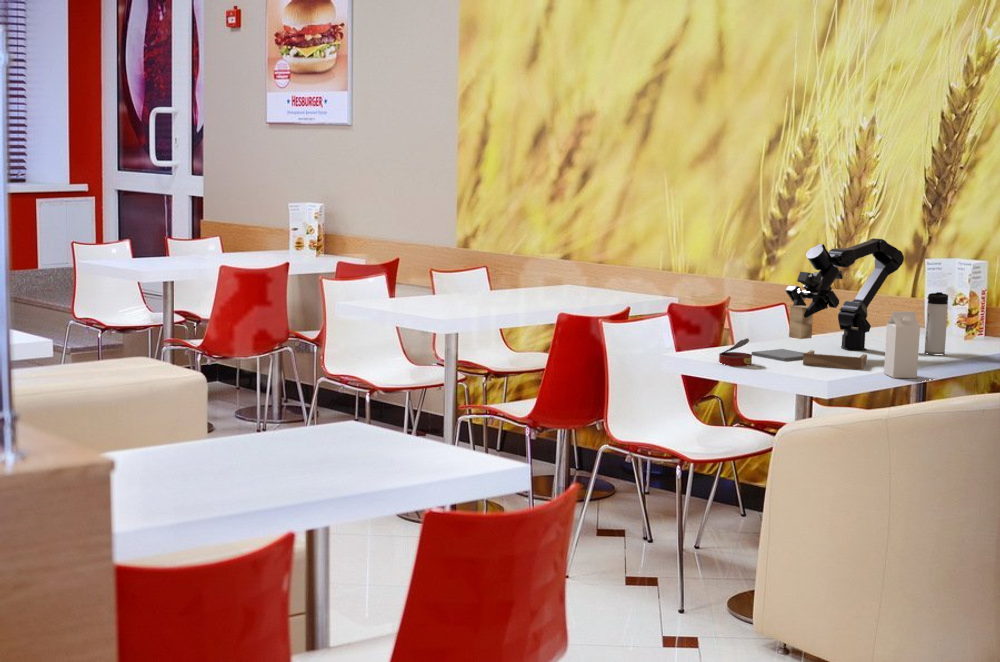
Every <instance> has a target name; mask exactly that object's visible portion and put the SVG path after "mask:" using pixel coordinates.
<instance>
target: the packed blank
mask: <svg viewBox="0 0 1000 662" xmlns="http://www.w3.org/2000/svg"><path fill="white" fill-rule="evenodd" d="M809 306H810V305H809ZM809 306H808V305H806V306H802V305H799V306H793V305H790V307H789V325H788V327H789V328H788V329H789V330H788V337H789V338H790V339H792V338H793V339H797V340H806V339H812V335H813V318H814V317H813V316H814V314H812V315H810V316H809V317H807V318H805V317H804V314H805V312H806V310H807V309H808V307H809Z"/></svg>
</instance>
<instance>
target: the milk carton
mask: <svg viewBox="0 0 1000 662" xmlns="http://www.w3.org/2000/svg"><path fill="white" fill-rule="evenodd" d="M885 333H886V334H885V349H884V350H885V353H884V367H883V368H884V369H883V374H884V375H886V376H888V377H890V378H894V379H895V378H896V379H899V378H900V379H908V378H909V379H917V378H918V368H919V367H918V366H919V350H920V335H921V334H920V333H921V325H920V323H919V320H918V318H917V311H895V310H894V311H892V312H891V316H890V318H889V319H888V321H887V322H886V332H885Z"/></svg>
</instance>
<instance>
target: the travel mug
mask: <svg viewBox="0 0 1000 662" xmlns="http://www.w3.org/2000/svg"><path fill="white" fill-rule="evenodd" d="M927 296H928V297H927V307H926V308H927V309H926V324H925V325H926V326H925V337H924V338H925V340H924V354H925V353H928V354H944V355H945V352H946V340H947V339H946V337H947V323H948V311H949V310H948V307H949V302H948V301H949V294H947V293H943V292H940V291H939V292H937V291H936V292H932V293H929V294H927Z"/></svg>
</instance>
